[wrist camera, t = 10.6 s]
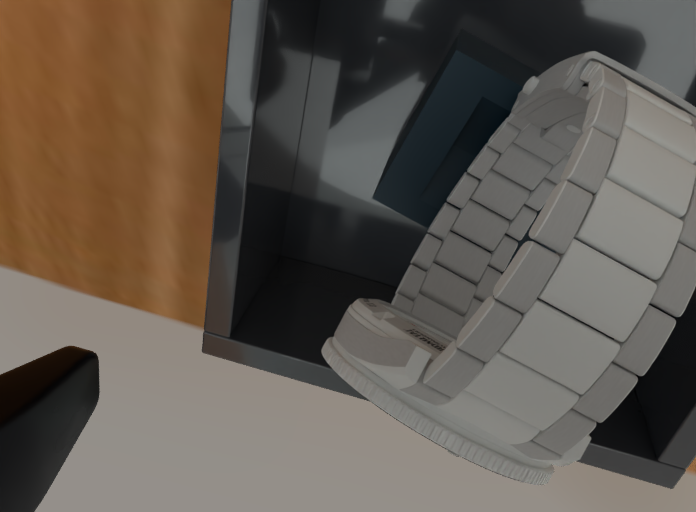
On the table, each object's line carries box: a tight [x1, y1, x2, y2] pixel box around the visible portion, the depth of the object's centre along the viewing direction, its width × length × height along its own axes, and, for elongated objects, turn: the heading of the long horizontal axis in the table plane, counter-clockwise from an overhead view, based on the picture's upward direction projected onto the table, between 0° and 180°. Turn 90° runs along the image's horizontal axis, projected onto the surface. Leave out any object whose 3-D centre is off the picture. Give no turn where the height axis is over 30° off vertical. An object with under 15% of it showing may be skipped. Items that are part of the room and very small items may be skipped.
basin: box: [202, 0, 696, 489], centre depth 16 cm, size 14×14×6 cm
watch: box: [321, 29, 696, 485], centre depth 13 cm, size 6×8×11 cm
